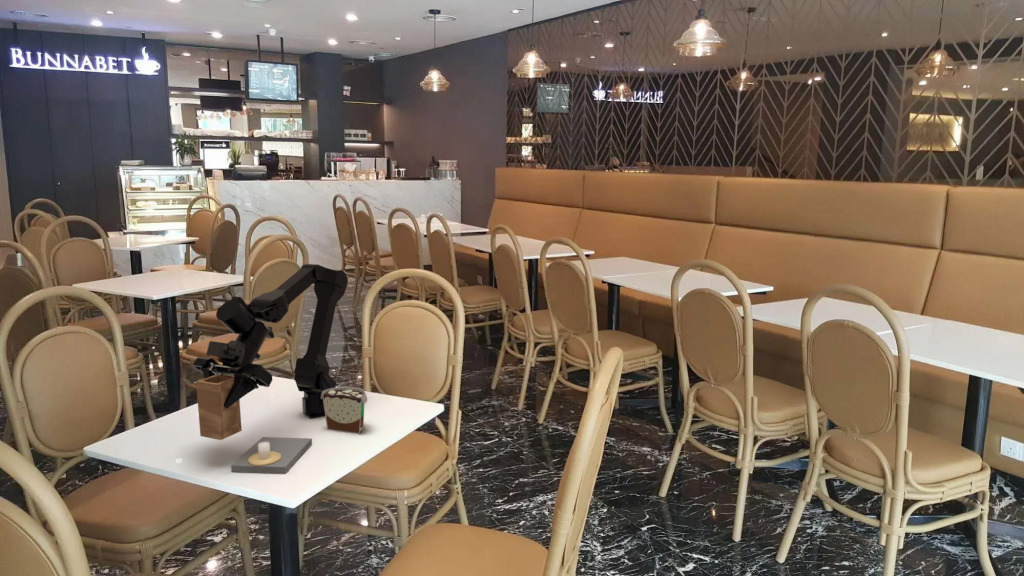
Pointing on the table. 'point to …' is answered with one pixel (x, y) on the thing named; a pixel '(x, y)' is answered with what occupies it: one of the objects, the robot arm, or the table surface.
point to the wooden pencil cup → (217, 408)
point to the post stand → (272, 455)
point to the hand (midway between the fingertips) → (214, 405)
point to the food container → (344, 409)
